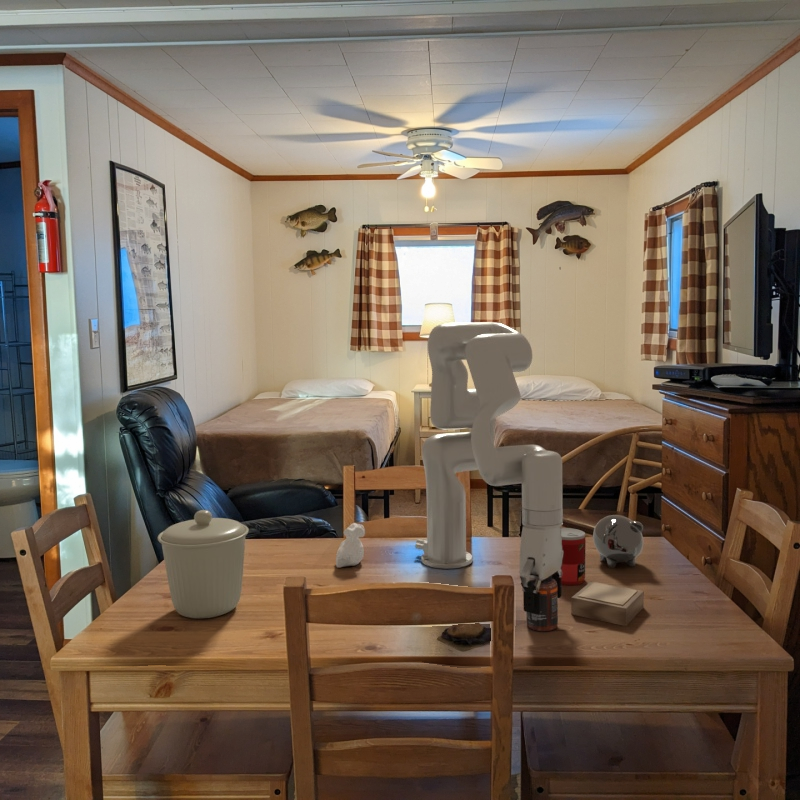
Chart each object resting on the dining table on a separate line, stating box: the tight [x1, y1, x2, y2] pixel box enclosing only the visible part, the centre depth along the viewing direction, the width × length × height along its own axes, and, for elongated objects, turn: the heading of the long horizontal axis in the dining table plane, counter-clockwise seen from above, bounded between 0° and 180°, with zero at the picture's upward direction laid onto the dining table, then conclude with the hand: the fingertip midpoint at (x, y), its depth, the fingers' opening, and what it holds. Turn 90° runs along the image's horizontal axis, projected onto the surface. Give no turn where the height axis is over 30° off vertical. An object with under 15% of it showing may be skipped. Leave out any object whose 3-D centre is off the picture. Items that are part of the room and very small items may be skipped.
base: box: [570, 580, 645, 627], centre depth 150 cm, size 11×11×4 cm
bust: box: [335, 522, 366, 569], centre depth 182 cm, size 12×8×11 cm
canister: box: [157, 509, 250, 619], centre depth 154 cm, size 18×18×21 cm
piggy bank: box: [592, 514, 644, 568], centre depth 179 cm, size 11×15×12 cm
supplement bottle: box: [526, 573, 559, 632], centre depth 143 cm, size 6×6×11 cm
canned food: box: [560, 527, 587, 586], centre depth 168 cm, size 8×8×11 cm
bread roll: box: [436, 622, 492, 652], centre depth 139 cm, size 11×8×4 cm
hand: (542, 604), depth 142 cm, fingers open, 9 cm apart
